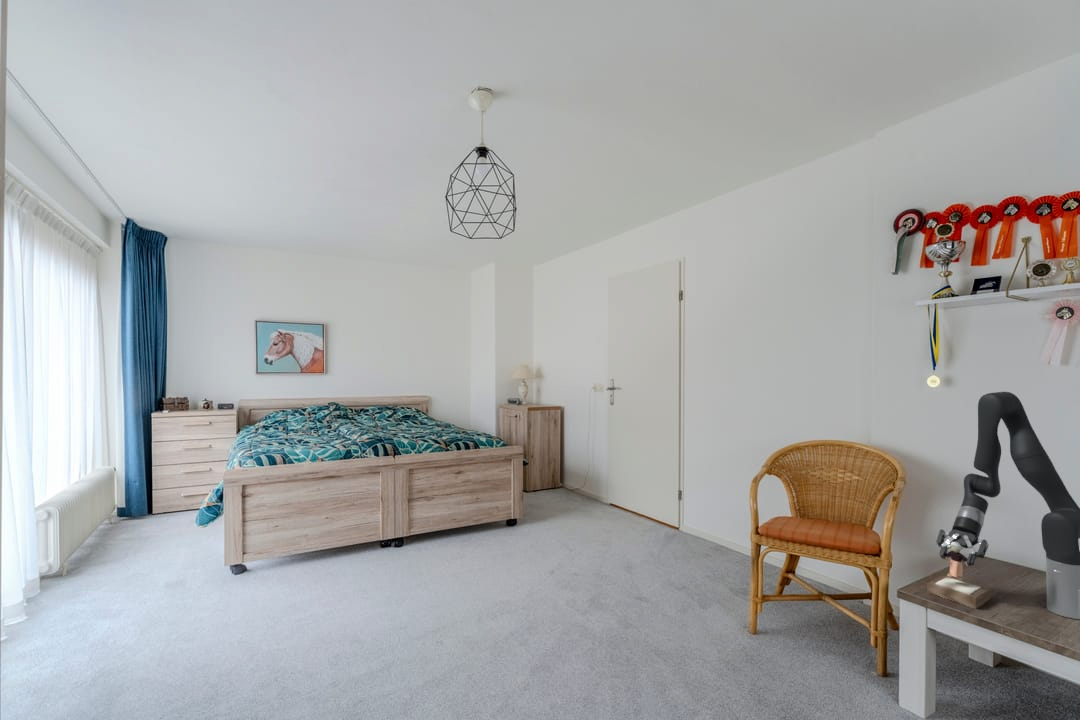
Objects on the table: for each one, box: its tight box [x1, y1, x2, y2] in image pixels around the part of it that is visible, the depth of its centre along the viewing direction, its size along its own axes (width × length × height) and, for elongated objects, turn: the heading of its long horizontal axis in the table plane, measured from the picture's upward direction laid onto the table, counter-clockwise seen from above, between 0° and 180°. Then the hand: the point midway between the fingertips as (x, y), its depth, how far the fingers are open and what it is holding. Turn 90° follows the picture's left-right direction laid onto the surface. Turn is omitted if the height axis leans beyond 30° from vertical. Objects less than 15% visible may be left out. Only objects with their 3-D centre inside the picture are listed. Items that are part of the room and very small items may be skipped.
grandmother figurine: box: [944, 541, 969, 581], centre depth 182 cm, size 8×4×13 cm, turn 35°
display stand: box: [926, 575, 991, 610], centre depth 182 cm, size 14×12×4 cm
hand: (955, 561), depth 181 cm, fingers closed on grandmother figurine, 7 cm apart
